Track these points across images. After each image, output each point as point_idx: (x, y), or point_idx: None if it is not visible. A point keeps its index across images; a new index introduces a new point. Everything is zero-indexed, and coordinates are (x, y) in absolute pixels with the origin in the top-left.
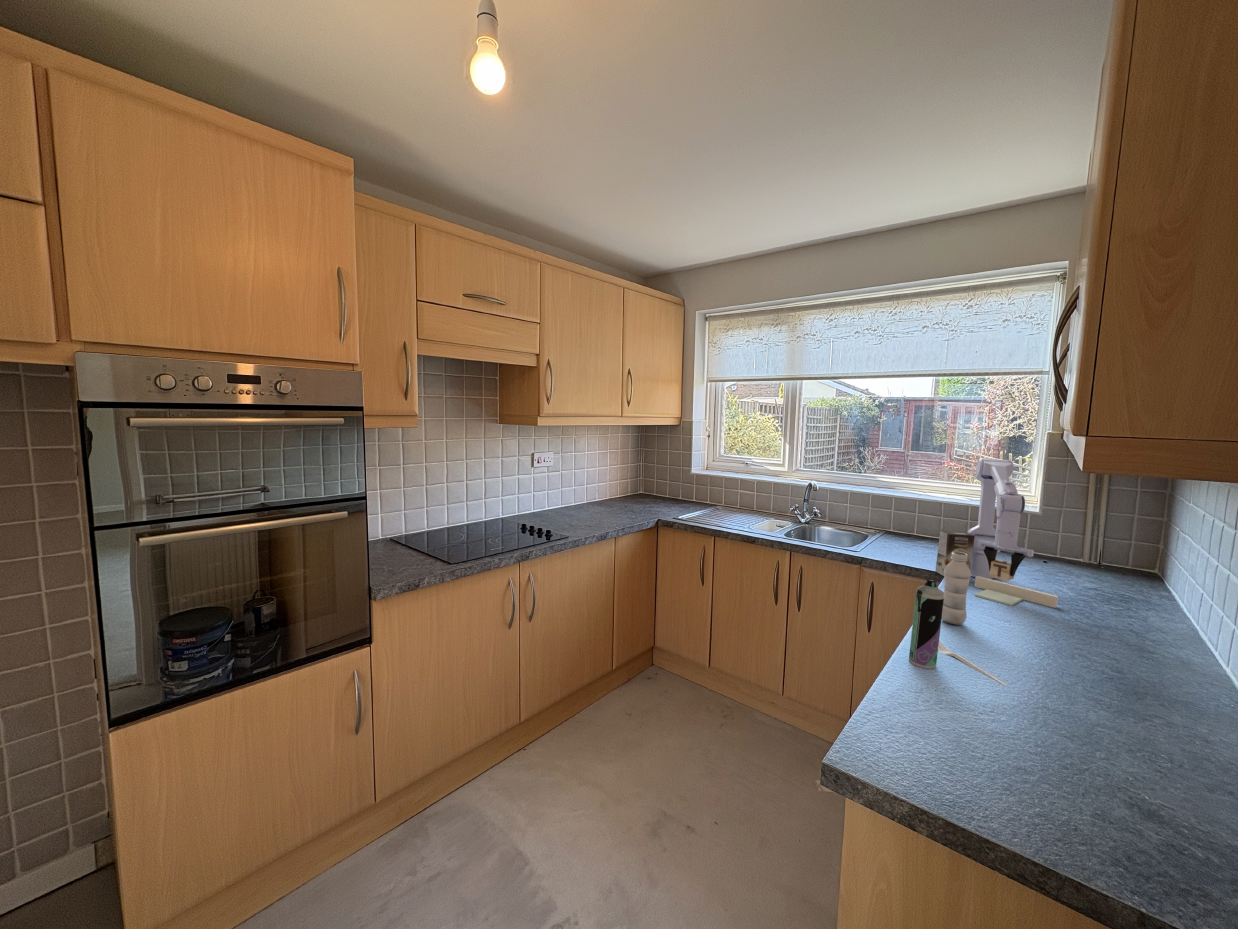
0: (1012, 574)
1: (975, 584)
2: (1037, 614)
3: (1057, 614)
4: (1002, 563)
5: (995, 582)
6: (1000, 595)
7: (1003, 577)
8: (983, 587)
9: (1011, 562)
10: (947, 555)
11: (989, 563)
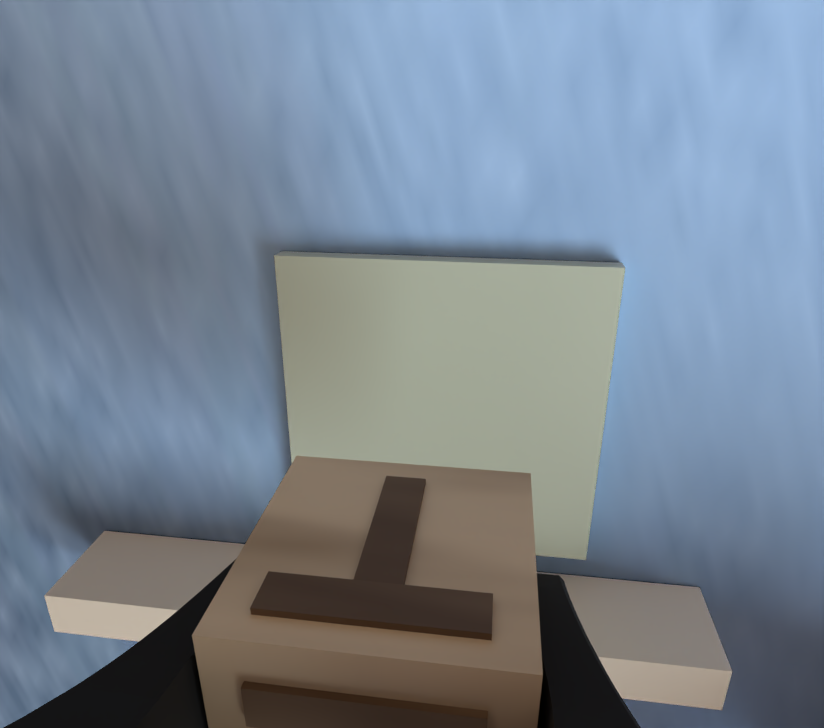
0: (234, 560)
1: (698, 602)
2: (67, 214)
3: (16, 378)
4: (342, 690)
5: None
6: (437, 459)
7: (344, 478)
8: (622, 589)
9: (143, 714)
10: None
11: (580, 664)
